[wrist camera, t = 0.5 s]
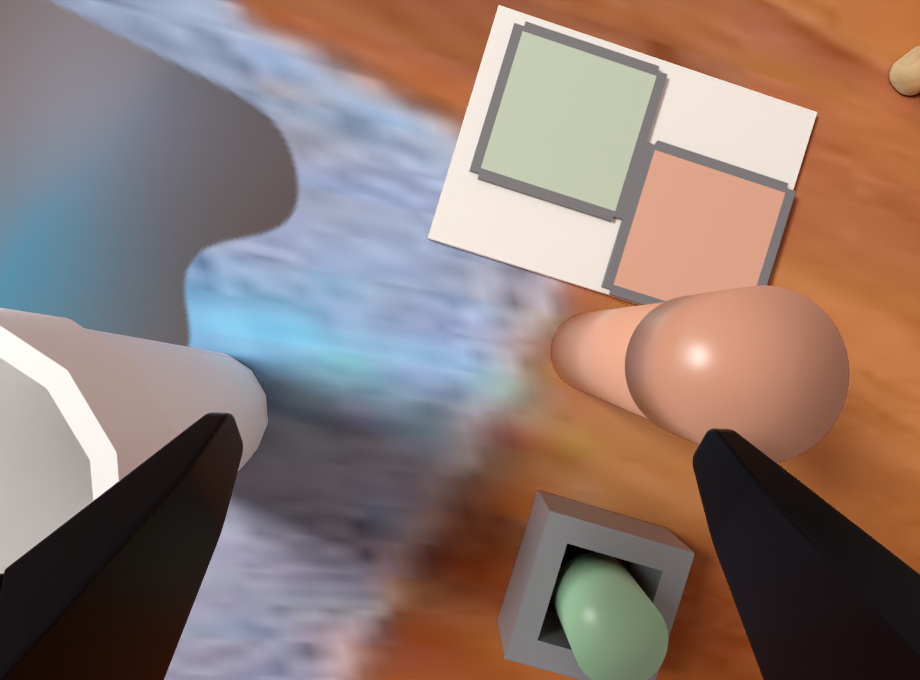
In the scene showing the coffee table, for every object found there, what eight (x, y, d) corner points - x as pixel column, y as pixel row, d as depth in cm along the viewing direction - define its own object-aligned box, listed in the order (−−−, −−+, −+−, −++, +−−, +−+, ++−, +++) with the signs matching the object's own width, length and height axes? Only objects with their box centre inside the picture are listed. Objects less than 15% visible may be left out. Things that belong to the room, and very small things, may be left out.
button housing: (626, 656, 24) (650, 699, 22) (497, 620, 24) (504, 658, 21) (666, 527, 24) (695, 553, 22) (537, 490, 24) (549, 510, 21)
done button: (619, 642, 23) (651, 699, 19) (542, 621, 22) (560, 674, 19) (643, 565, 23) (680, 607, 19) (566, 542, 22) (589, 581, 19)
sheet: (743, 338, 24) (750, 338, 24) (427, 239, 24) (427, 236, 23) (812, 115, 24) (821, 110, 24) (498, 9, 24) (499, 1, 23)
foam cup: (336, 391, 24) (207, 463, 11) (230, 543, 24) (-31, 803, 11) (176, 281, 23) (-162, 218, 10) (68, 436, 23) (-411, 570, 10)
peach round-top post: (646, 358, 24) (884, 389, 11) (582, 409, 24) (746, 500, 11) (596, 293, 24) (779, 248, 11) (532, 344, 24) (638, 359, 11)
